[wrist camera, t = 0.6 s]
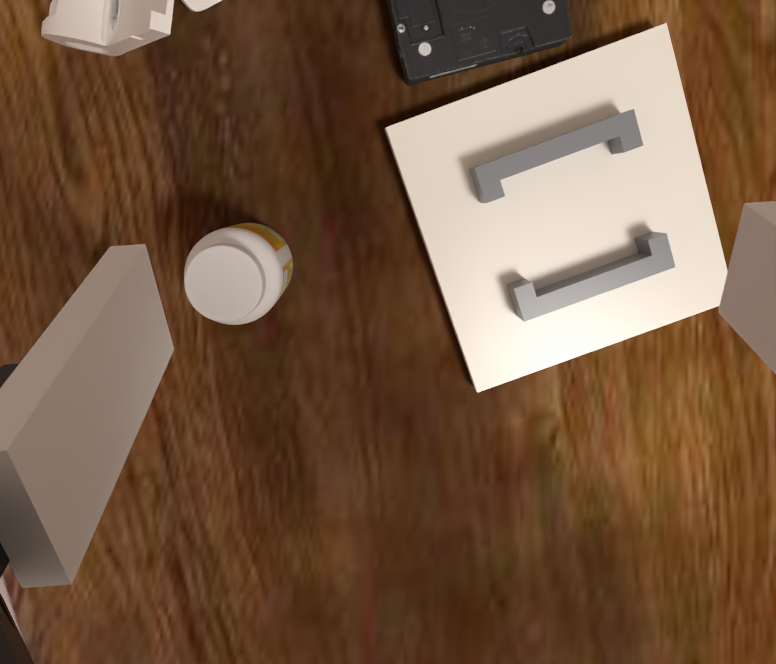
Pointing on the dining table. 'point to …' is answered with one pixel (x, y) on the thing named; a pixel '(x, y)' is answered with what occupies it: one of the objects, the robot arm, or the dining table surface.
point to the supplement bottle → (237, 273)
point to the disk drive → (472, 33)
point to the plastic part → (112, 23)
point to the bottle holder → (564, 208)
